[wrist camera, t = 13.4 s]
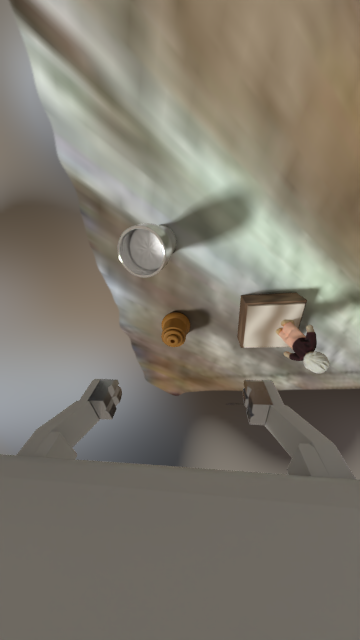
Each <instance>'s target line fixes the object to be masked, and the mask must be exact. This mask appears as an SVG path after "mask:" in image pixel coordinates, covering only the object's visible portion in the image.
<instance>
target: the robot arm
mask: <svg viewBox="0 0 360 640" xmlns="http://www.w3.org/2000/svg"><path fill="white" fill-rule="evenodd" d="M118 384H119V383H118V380H111V379H94V380H93V381H92V382H91V384H90V385H89V387H88V388H87V390H86V391H85V393H84V394H83V396H82V397H81V399H80V400H79V401H76V402H75V403H73V404H72V405H70V406H69V407H68V408H66V409H65V410H63V411H62V412H61V413H59V414H58V415H56V416H55V417H54V418H52V419H51V420H49V421H48V422H46V423H45V424H44V425H42V426H41V427H39V428H38V429H37V430H36V431H35V432H34V433H33V435H32V436H31V437H30V439H29V440H28V441H27V442H26V443H25V445H24V446H23V447H22V449H21V450H20V451H19V452H18V454H17V455H3V454H0V640H360V480H357V479H356V478H355V477H354V475H353V474H352V472H351V470H350V469H349V467H348V465H347V464H346V462H345V461H344V459H343V457H342V456H341V454H340V452H339V451H338V449H337V448H336V446H335V444H333V443H332V442H331V441H330V440H329V439H327V438H326V437H325V436H324V435H322V434H321V433H320V432H319V431H318V430H316V429H315V428H314V427H313V426H311V425H310V424H309V423H308V422H307V421H305V420H304V419H303V418H302V417H300V416H299V415H298V414H297V413H295V412H294V411H293V410H292V409H291V408H289V407H288V406H284V404H283V402H282V400H281V398H280V395H279V394H278V391H277V389H276V387H275V385H274V383H273V381H272V380H245V381H244V387H245V388H244V389H243V400H244V405H245V406H246V407H247V416H248V420H249V424H252V425H265V426H266V428H267V429H268V430H269V431H270V432H271V433H272V435H273V436H274V437H275V438H276V439H277V440H278V442H279V443H280V444H281V445H282V446H283V448H284V449H285V450H286V451H287V452H288V453H289V455H290V456H291V457H292V460H291V462H290V464H289V466H288V468H287V471H288V474H289V475H286V474H272V473H258V472H244V471H230V470H215V469H202V468H187V467H173V466H159V465H145V464H130V463H116V462H102V461H88V460H75V459H76V457H77V453H76V452H75V451H74V449H73V446H74V445H75V444H76V443H77V442H78V441H79V440H80V439H81V438H82V437H83V436H84V435H85V434H86V433H87V432H88V431H89V430H90V429H91V428H92V427H93V426H94V425H95V424H96V423H97V422H98V421H99V419H112V418H113V416H114V414H115V412H116V405H117V404H118V403H119V402H120V400H121V396H122V390H121V388H120V387H119V386H118Z"/></svg>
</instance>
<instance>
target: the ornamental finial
mask: <svg viewBox="0 0 360 640" xmlns="http://www.w3.org/2000/svg"><path fill="white" fill-rule="evenodd" d="M162 329H163V331H162V336H161V337H162V340H163V342H164V343H165V344H166V345H168V346H171V347H178V346H181V345H182V344H183V343H184V342H185V339H186V335H187V334H188V332H189V330H190V322H189V320H188V318H187V317H186V316H185V315H183V314H181V313H178V312H173V313H170V314H168V315H166V316H165V317H164V319H163V321H162Z"/></svg>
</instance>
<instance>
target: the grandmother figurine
mask: <svg viewBox="0 0 360 640" xmlns="http://www.w3.org/2000/svg"><path fill="white" fill-rule="evenodd" d="M294 324H295V323H294V321H293V320H283V321H282V322H281V326H284V327H283V328H278V329H277V330H276V333H277V334H278V335H279V336H280V337H281V338H282V339H283V341H284V342H285V343H286V344H288V345H289V346H290V347H291V348H292V349H293V350H294V352H295V353H289V352H287V351H286V352H284V356H286V357H288V358H290V359H291V360H296V361H302V360H304V365H305V367H306V368H307V369H309V370H311V371H312V372H315V373H323V372H325V371H326V370H327V369H328V367H329V366H330V365H329V364H330V363H329V360H328V358H327V357H326V356H325V355H324V354H322V353H320V352H317V351H316V352H314V350H315V348H316V343H317V342H316V333H315V332H314V330H313V326H312V325H307V326H306V329H307V335H306V336H305V335H304V334H303V333H302V332H301V331H300V330H299V329H298V328H297V327H296V326H295V325H294Z"/></svg>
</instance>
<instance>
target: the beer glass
mask: <svg viewBox="0 0 360 640" xmlns="http://www.w3.org/2000/svg"><path fill="white" fill-rule="evenodd" d="M175 248H176V237H175V234H174V233H173V231H172V230H171V229H170V228H168V227H167V226H163V225H159V226H158V225H156V224H151V223H144V224H139V225H136V226H132V227H130V228H128V229H126V230H125V231H124V232H123V233H122V235H121V237H120V239H119V242H118V255H119V258H120V261H121V263H122V264H123V266H124V267H125V268H126V269H127V270H128V271H129V272H130V273H132V274H133V275H135V276H138V277H151V276H154V275H156V274H157V273H158V272H159V271H161V270H162V269H163V268H164V267H165V266H166V265H167V263H168V262H169V260H170V258H171V255H172V253H173V252H174V250H175Z"/></svg>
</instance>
